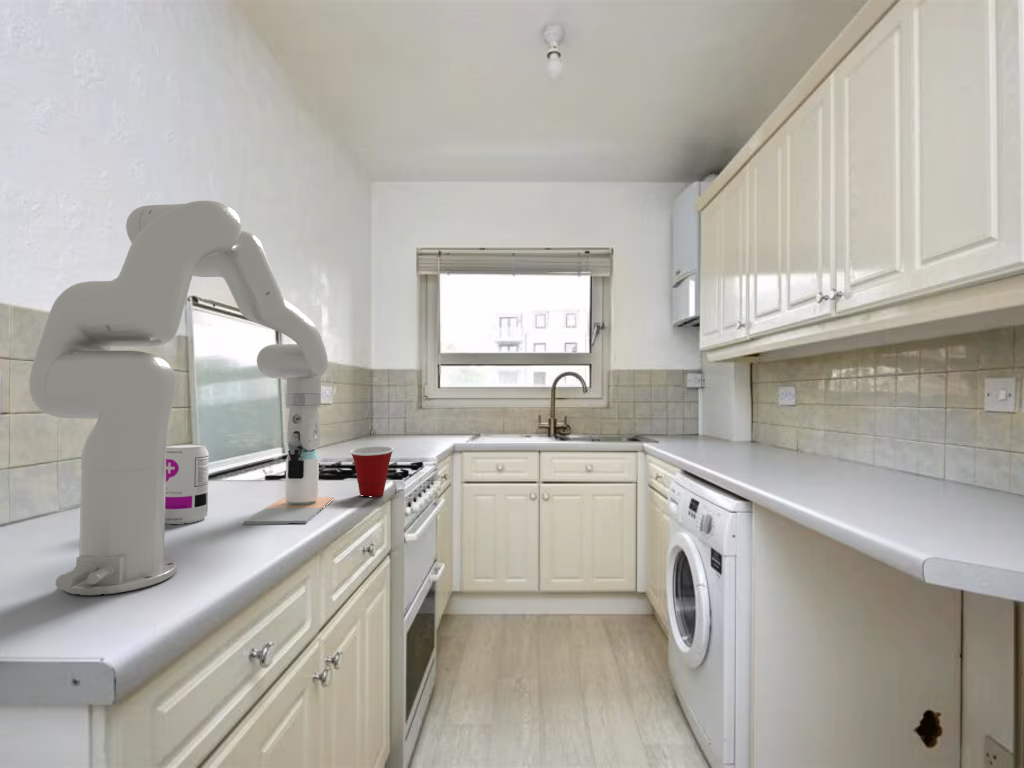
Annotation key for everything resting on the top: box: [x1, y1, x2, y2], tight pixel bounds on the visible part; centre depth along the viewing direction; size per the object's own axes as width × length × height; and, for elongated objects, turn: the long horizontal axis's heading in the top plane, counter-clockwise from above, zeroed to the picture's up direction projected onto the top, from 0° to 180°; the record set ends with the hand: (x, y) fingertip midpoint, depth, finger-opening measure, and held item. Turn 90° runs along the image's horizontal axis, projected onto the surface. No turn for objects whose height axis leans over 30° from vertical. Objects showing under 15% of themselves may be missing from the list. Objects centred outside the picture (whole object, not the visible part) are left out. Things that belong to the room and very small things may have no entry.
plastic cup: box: [349, 445, 394, 498], centre depth 136 cm, size 11×11×12 cm
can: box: [284, 449, 320, 505], centre depth 123 cm, size 7×7×12 cm
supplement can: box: [165, 443, 210, 525], centre depth 108 cm, size 8×8×15 cm
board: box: [242, 496, 335, 525], centre depth 117 cm, size 24×12×1 cm, turn 6°
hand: (302, 475), depth 123 cm, fingers open, 9 cm apart
